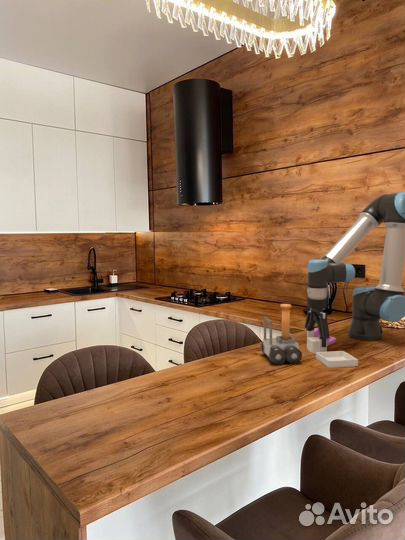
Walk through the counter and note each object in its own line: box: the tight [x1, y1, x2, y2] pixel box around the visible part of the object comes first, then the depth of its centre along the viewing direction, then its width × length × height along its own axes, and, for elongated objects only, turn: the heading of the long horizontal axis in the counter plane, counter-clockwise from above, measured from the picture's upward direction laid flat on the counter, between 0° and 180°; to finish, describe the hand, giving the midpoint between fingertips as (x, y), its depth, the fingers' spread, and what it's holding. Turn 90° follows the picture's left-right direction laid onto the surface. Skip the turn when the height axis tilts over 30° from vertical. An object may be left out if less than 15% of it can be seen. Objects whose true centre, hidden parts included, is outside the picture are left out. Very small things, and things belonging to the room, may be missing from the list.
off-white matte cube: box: [306, 337, 328, 354], centre depth 169 cm, size 6×6×5 cm
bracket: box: [313, 327, 337, 347], centre depth 181 cm, size 13×6×7 cm, turn 140°
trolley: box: [260, 316, 303, 366], centre depth 158 cm, size 12×14×16 cm
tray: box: [315, 350, 359, 369], centre depth 154 cm, size 11×11×2 cm
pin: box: [279, 303, 292, 339], centre depth 158 cm, size 4×4×14 cm
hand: (316, 350), depth 169 cm, fingers open, 12 cm apart
